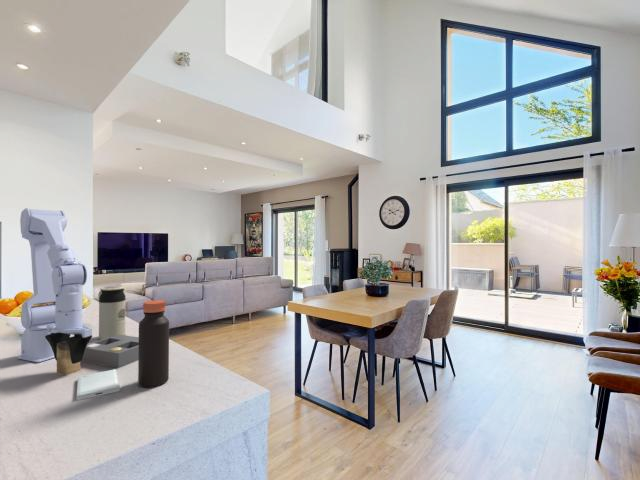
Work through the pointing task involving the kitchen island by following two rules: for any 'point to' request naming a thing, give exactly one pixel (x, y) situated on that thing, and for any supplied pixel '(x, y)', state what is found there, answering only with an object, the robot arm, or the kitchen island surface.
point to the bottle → (153, 345)
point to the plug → (65, 360)
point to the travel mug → (111, 311)
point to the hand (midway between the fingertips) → (68, 360)
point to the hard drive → (97, 384)
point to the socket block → (113, 351)
